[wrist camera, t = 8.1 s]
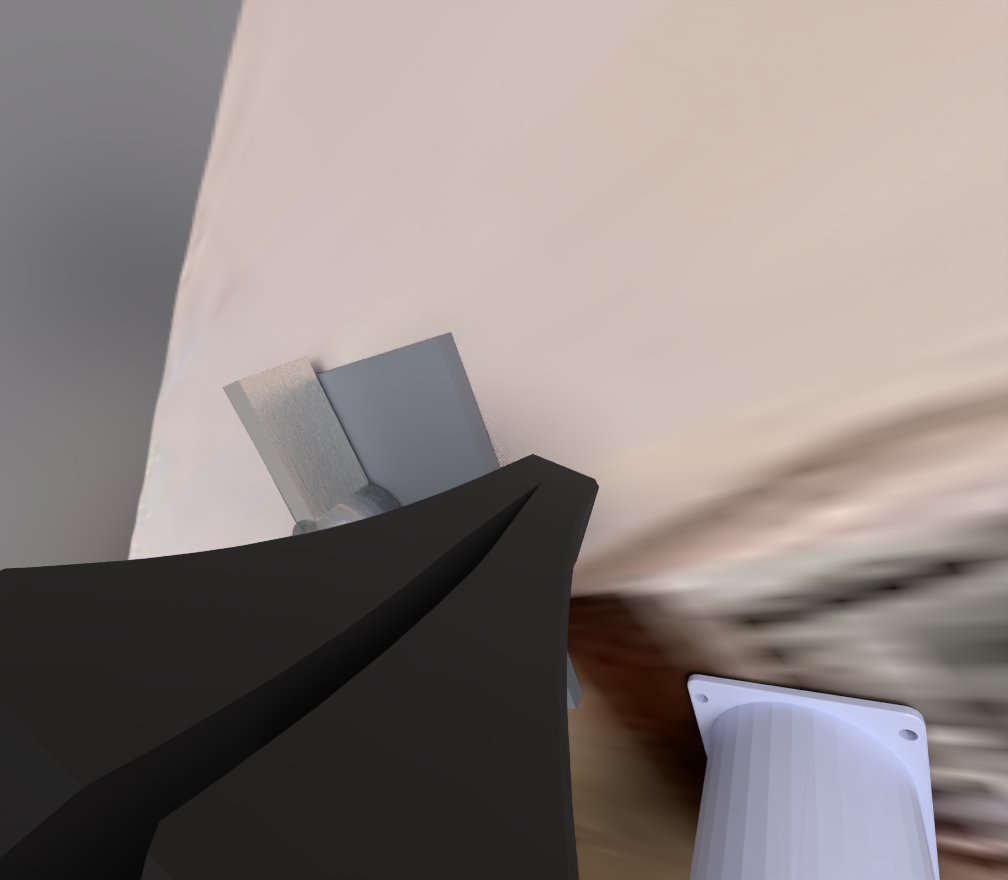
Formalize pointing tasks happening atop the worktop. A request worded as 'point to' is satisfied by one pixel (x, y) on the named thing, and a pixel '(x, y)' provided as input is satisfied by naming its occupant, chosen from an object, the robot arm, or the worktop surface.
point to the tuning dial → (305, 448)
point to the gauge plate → (416, 426)
